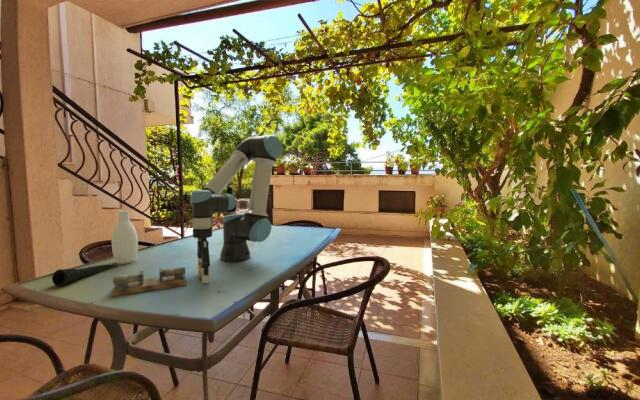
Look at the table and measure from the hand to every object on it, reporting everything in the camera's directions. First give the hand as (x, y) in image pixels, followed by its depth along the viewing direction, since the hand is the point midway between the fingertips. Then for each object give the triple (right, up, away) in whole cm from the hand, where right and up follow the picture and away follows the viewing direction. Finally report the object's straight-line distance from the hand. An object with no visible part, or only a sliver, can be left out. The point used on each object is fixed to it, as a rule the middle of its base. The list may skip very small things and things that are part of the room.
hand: (203, 277), depth 125 cm
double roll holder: (-16, -1, -10) cm, 19 cm away
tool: (-51, 0, +3) cm, 51 cm away
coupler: (0, 0, 0) cm, 0 cm away
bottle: (-48, +2, +24) cm, 54 cm away
